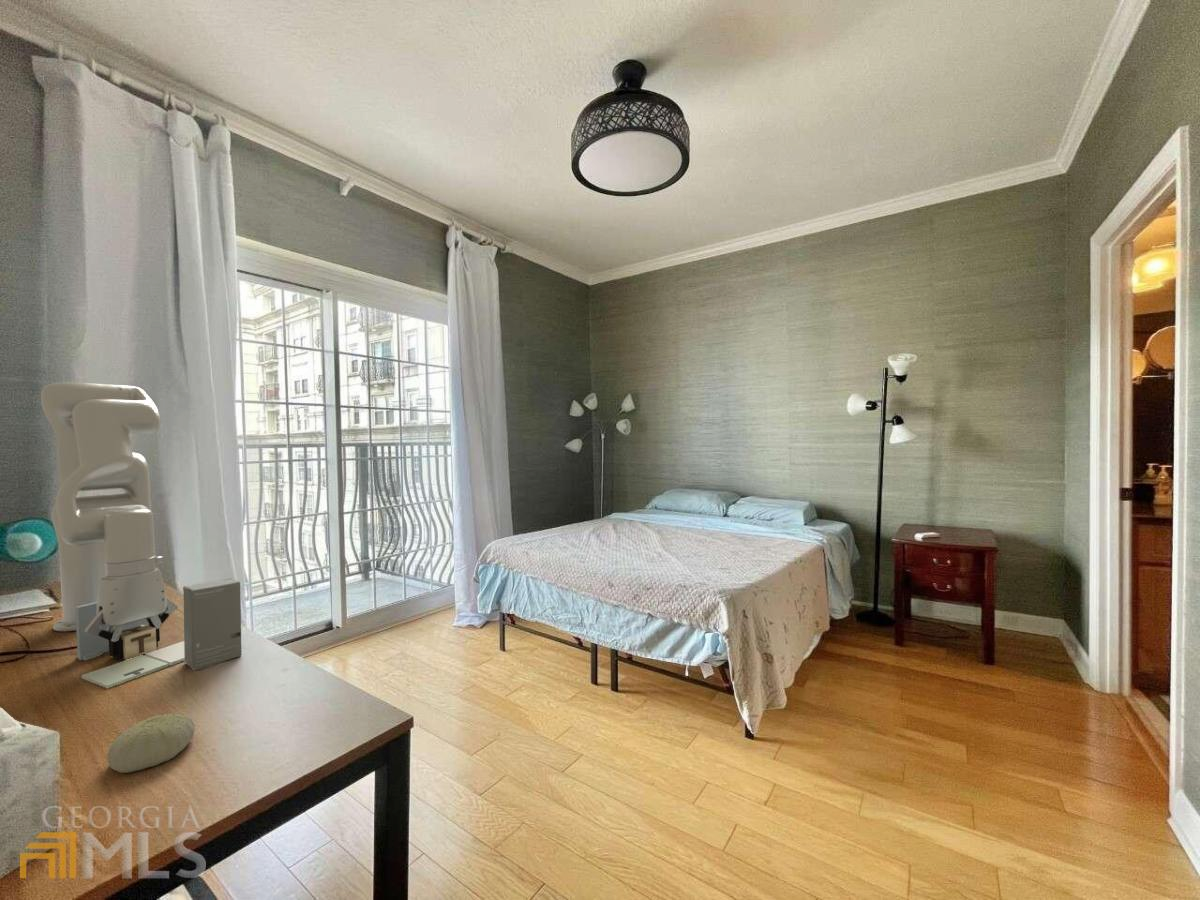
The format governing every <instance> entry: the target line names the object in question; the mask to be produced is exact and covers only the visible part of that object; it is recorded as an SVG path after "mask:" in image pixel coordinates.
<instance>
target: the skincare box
mask: <svg viewBox="0 0 1200 900" xmlns="http://www.w3.org/2000/svg"><path fill="white" fill-rule="evenodd" d="M182 589H183V590H182V592H183V627H184V628H183V639H184V640H183V641H184V657H185V661H184V662H185V664H186V665H188V666H189V667H190V668H191V669H192V670H193V671H198V670H200V669H204V668H207V667H210V666H214V665H217V664H220V663H224V662H226V661H229V660H233V659H235V657H236V658H239V657H241V656H242V653H243V652H242V615H241V614H242V613H241V611H242V607H241V605H242V604H241V603H242V601H241V582H240V581H238V580H236V579H233V578H231V577H230V578H225V579H217V580H209V581H205V582H201V583H193V584H190V585H189V584H188V585H183V587H182Z"/></svg>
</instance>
